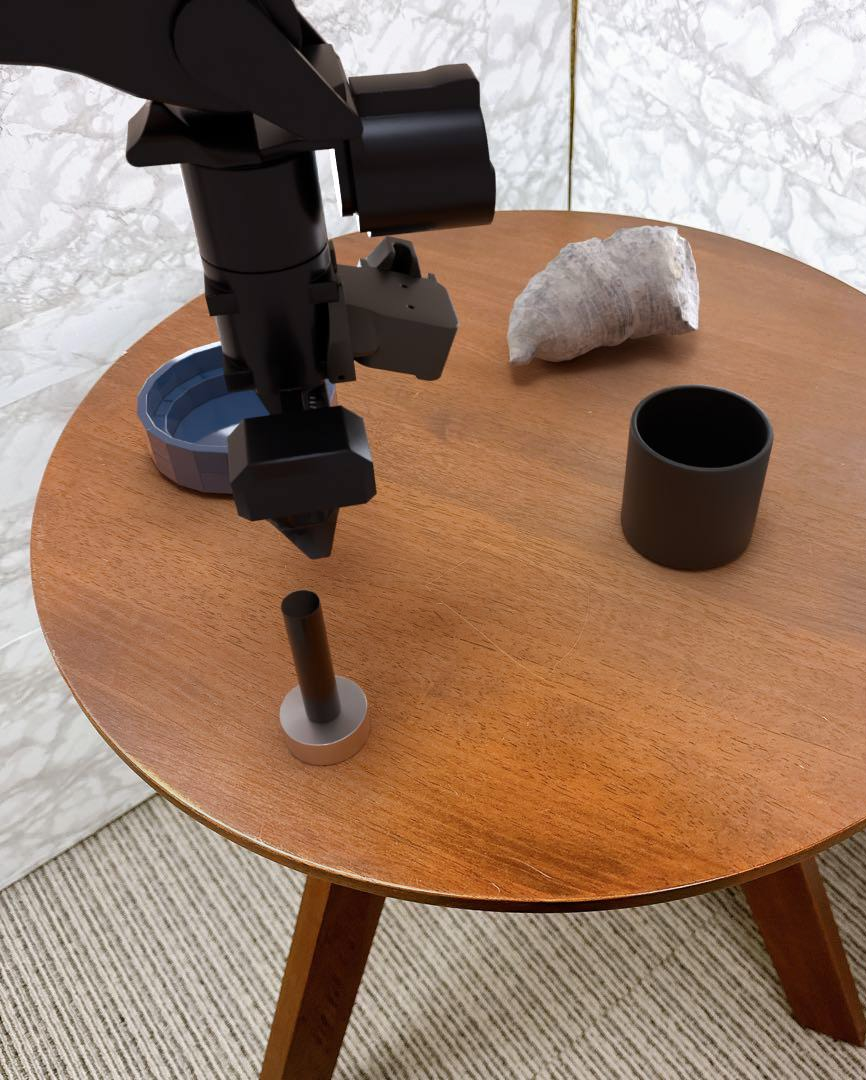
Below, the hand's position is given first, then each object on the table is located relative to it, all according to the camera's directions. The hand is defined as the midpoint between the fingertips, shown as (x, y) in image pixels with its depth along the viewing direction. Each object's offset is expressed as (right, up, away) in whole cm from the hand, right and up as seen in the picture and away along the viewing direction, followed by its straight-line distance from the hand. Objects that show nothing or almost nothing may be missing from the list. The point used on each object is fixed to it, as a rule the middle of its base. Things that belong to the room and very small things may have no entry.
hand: (311, 499), depth 57 cm
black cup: (+24, -1, +17) cm, 30 cm away
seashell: (+18, +15, +33) cm, 40 cm away
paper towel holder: (0, -13, +3) cm, 14 cm away
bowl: (-10, +6, +23) cm, 25 cm away
